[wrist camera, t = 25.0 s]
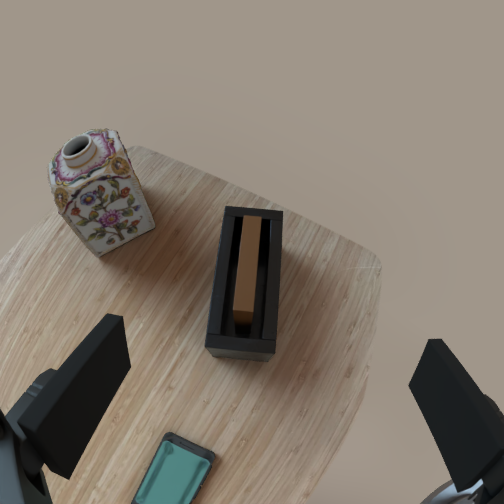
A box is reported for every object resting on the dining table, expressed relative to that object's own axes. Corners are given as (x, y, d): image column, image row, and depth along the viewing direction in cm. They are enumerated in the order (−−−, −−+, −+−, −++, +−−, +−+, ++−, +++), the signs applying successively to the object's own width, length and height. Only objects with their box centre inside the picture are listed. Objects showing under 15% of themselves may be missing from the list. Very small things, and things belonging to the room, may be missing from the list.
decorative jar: (96, 260, 44) (41, 195, 28) (82, 210, 48) (38, 142, 32) (159, 227, 47) (127, 148, 31) (137, 181, 51) (109, 105, 35)
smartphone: (127, 509, 26) (165, 431, 32) (130, 506, 27) (168, 430, 33) (175, 533, 25) (217, 455, 31) (177, 529, 26) (218, 454, 32)
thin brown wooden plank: (250, 334, 39) (253, 311, 29) (235, 332, 39) (232, 310, 29) (256, 259, 44) (261, 216, 34) (243, 258, 44) (243, 215, 34)
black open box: (268, 361, 38) (275, 353, 30) (212, 356, 38) (204, 346, 30) (276, 243, 46) (283, 210, 38) (227, 239, 47) (225, 205, 38)
